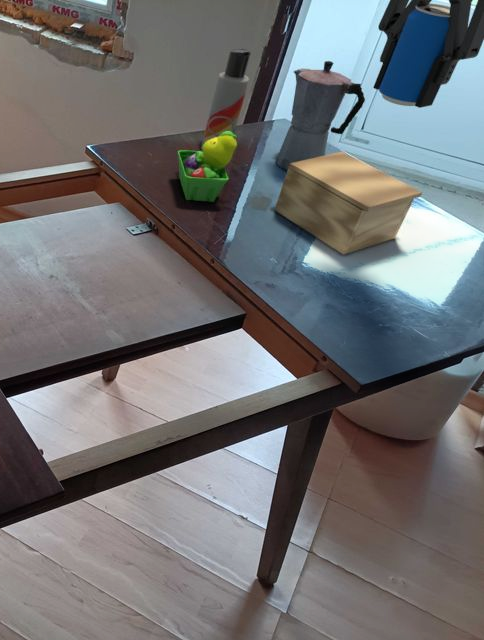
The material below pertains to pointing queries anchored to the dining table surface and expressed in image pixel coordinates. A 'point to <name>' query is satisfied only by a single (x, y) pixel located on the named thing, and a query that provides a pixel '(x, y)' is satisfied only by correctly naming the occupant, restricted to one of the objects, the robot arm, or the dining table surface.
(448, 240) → the dining table surface
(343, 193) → the wooden lid
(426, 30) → the beverage can
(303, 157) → the moka pot
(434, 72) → the robot arm
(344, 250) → the chest
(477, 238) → the dining table surface
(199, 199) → the fruit basket
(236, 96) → the lotion bottle
